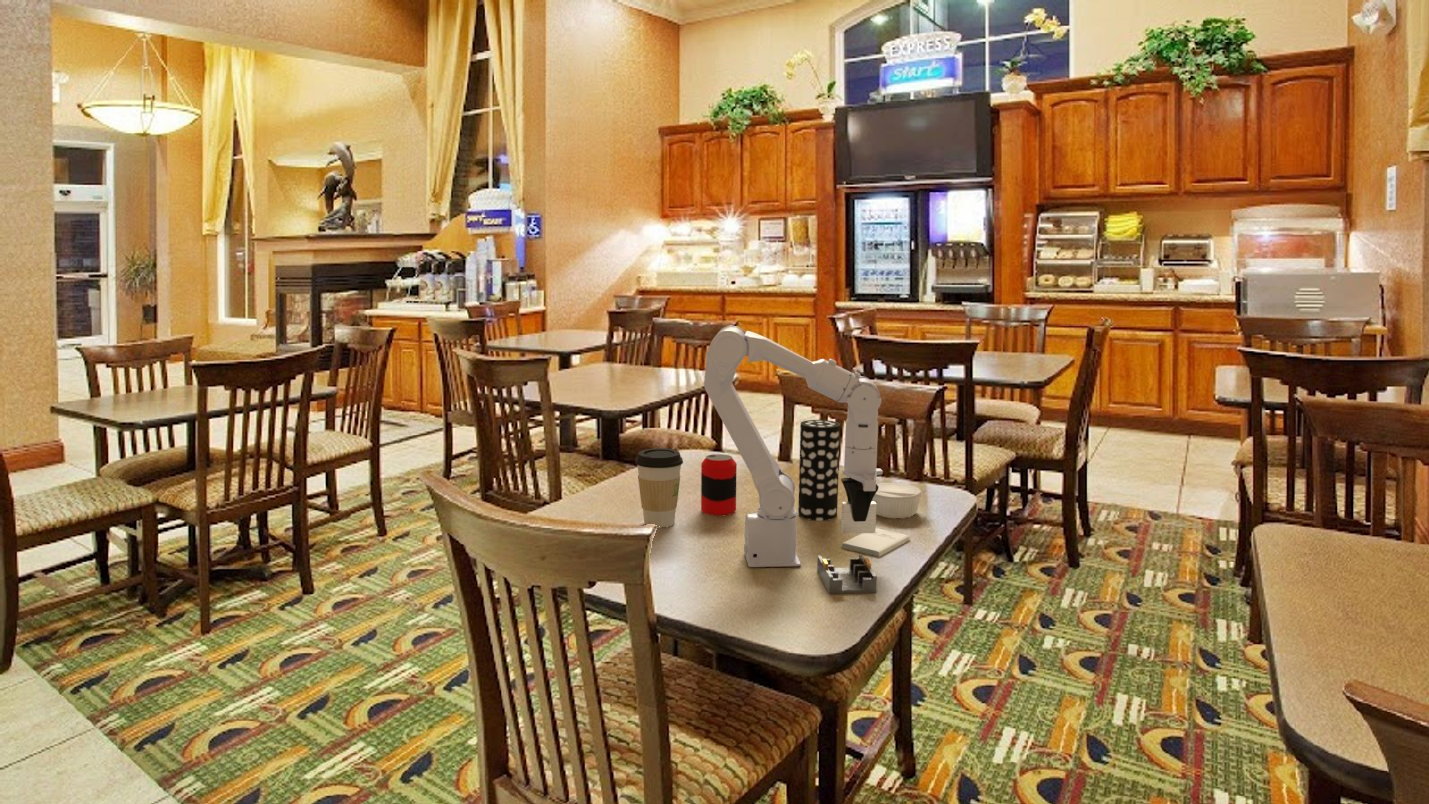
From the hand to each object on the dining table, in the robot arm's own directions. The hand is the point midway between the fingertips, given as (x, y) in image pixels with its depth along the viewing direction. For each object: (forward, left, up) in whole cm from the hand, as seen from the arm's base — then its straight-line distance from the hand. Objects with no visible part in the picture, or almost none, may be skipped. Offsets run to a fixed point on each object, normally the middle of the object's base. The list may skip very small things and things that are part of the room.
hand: (858, 519), depth 166 cm
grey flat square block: (0, 0, -2) cm, 3 cm away
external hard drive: (+6, +10, -9) cm, 15 cm away
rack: (-4, -9, -8) cm, 13 cm away
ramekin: (+16, +30, -9) cm, 35 cm away
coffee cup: (-35, +25, -9) cm, 45 cm away
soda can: (-22, +33, -9) cm, 41 cm away
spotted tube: (-1, +29, -9) cm, 31 cm away
